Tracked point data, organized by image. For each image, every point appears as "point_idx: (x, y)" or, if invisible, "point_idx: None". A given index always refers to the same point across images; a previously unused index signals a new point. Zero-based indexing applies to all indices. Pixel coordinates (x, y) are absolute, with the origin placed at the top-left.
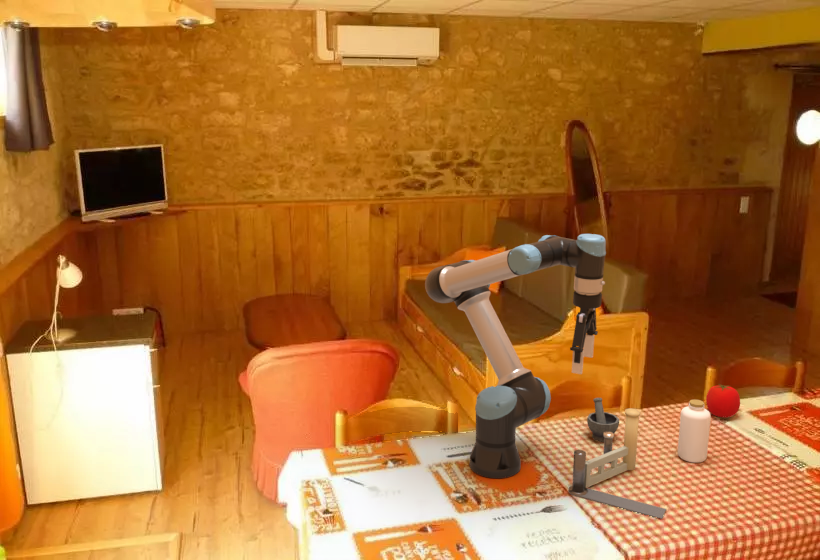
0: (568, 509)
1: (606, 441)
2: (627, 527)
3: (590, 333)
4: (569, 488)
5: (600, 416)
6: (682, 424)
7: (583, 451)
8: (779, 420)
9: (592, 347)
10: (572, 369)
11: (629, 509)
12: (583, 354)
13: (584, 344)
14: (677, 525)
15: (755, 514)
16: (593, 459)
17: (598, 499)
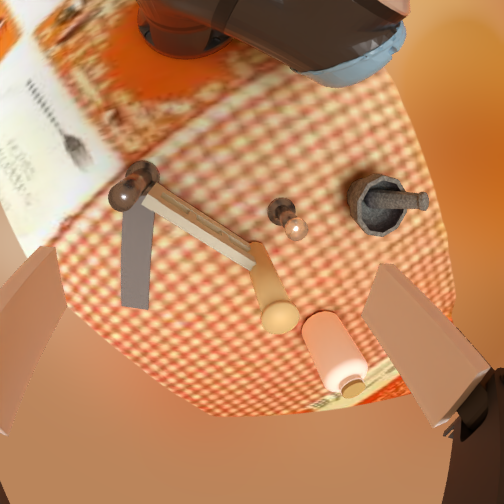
0: (84, 175)
1: (285, 222)
2: (81, 265)
3: (470, 410)
4: (141, 162)
5: (389, 201)
6: (332, 351)
7: (129, 204)
8: None
9: (394, 358)
10: (30, 261)
11: (121, 265)
12: (12, 409)
13: (426, 319)
14: (119, 321)
15: (191, 385)
16: (169, 212)
17: (127, 216)
